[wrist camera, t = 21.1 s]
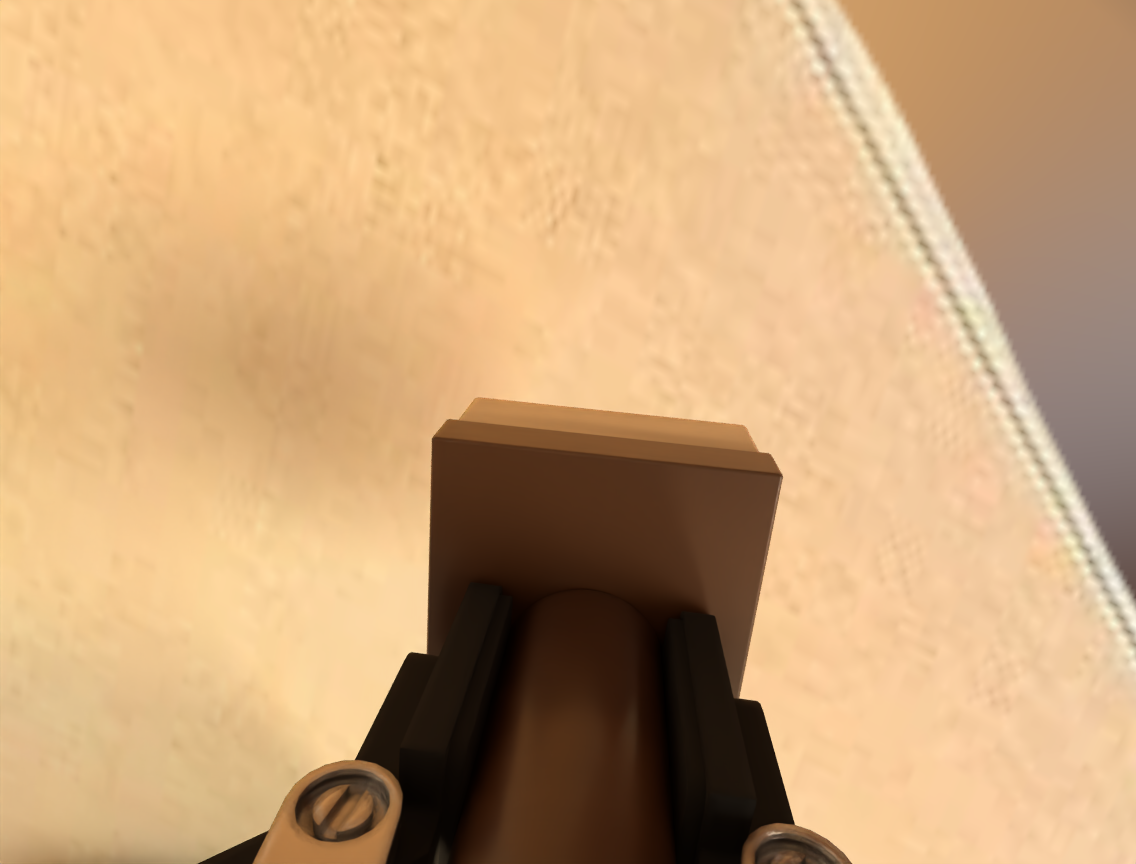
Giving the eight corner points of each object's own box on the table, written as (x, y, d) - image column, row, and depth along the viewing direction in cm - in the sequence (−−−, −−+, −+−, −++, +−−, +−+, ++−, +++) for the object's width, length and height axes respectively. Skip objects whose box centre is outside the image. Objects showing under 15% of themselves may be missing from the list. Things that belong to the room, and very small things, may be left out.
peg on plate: (469, 389, 14) (229, 680, 5) (753, 419, 13) (953, 773, 5) (457, 699, 16) (275, 1229, 8) (698, 729, 16) (775, 1312, 7)
